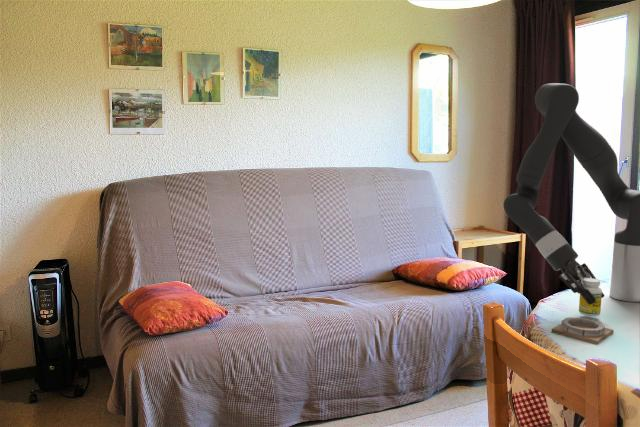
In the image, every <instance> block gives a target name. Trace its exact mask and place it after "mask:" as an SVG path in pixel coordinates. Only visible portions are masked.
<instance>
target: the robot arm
mask: <svg viewBox="0 0 640 427" xmlns="http://www.w3.org/2000/svg"><path fill="white" fill-rule="evenodd" d="M579 97H580V96H579V92H578V90H577V88H576V87H574V86H573V85H571V84H567V83H558V82H552V83H546V84H543V85H541V86H540V87H538V89H537V91H536V93H535V96H534V103H535V107H536V109H537V111H538V112H539V113H540V114H541V115H542V116H543V117H544V120H543V123H542V125H541V129H540V130H539V132H538V134H537V136H536V137H535V139H534V140H533V142H532V143H531V144H530V146H528V148H527V150H526V151H525V153H524V156H523V158H522V160H521V163H520V166H519V168H518V171H517V174H516V177H515V178H516V179H515V181H516V183H517V187H516V190H515V193H512V194H509V195H508V196H507V197H506V198H505V199H504V201H503V204H502V205H503V206H502V207H503V210H504V212H505V214H506V215H507V217H508V218H509V219H510V220H511V221H512V222H513V223H514V224H515V225H517V226H518V228H520V229H521V230H522V231H523V232H525V234H526V235H527V236H528V238H529V239H530V240H531V242H532V243H533V244H534V245H535V247H536V248H537V249H538V252H539V253H540V254H541V255H542V256H543V258H544V259H545V260H546V261H547V263H548V264H549V265H550V266H551V268H552V269H553V271H560V270H561V274H559V276H558V277H559V279H560V280H561V281H562V283H564V284H565V285H566V286H567V287H568V288H569V289H570V290H571V291H572V293H574V294H576V293H577V294H578V295H580V294H581V295H582V297H583V298H584V299H585V300H586V301H587V303H588V304H589V305H591V304H593V303H594V302H596V298H595V297H594V296H593V295H592V294H591V292H590V291H589V290H588V289H587V288H586V286H585V284H584V279H585V278H593V279H597V278H596V276H595V275H594V274H593V272H592V270H591V269H590V268H589V266H588V265H587V264H586V263H585V262H584V263H583V264H580V263H579V262H578V261H576V259H578V258H579V255H578V252H576V250H574V248H573V247H572V246H571V245H570V243H568V241H567V240H566V238H565V237H564V236H563V235H562V234H561V233H559V231H558V230H557V229H556V228H555V227H554V226H553V224H552V223H551V222H550V221H549V220H548V219H547V218H546V217H544V216H542V215H540V214H539V213H538V212H537V211H536V210H535V208H536V206H537V203H538V201H539V200H538V199H539V194H540V188H541V183H542V182H543V178H544V176H545V174H546V170H547V168H548V165H549V162H550V160H551V158H552V155H553V153H554V151H555V149H556V147H557V145H558V143H559V142H560V141H559V140H560V139H561V138H562V140H563V141H564V142H565V144H566V146H567V147H568V148H569V150H570V151H571V152H572V154H573V156H574V157H575V159H576V160H577V162H578V163H579V164H580V166H582V169H584V170H585V172H586V173H587V174H588V176H590V178H591V180H592V181H593V183H594V184H595V185H596V187H597V188H598V189H599V190H600V192H601V194H602V196H603V197H604V199H605V201H606V202H607V204H608V206H609V208H610V210H611V211H612V212H613V213H614V216H616V217H618V218H620V219H623V220H626V221H627V224H626V226H625V229H623V230H619V231H617V232H615V234H614V242H613V243H614V244H613V254H612V265H611V275H610V276H611V277H610V288H609V296H610V297H611V298H612V299H615V300H619V301H624V302H630V303H632V302H633V303H636V302H637V303H639V302H640V190H637V189H631V188H630V187H628V186H627V184H626V183H625V182H624V180H623V179H622V178H621V177H620V174H619V172H618V170H619V169H618V166H619V165H618V164H619V163H618V157H617V154H616V152H615V151H614V149H613V147H612V146H611V144H610V143H609V142H608V140H606V138H605V137H604V136H603V134H601V133H600V132H599V131H598V130H597V129H596V128H594V127H593V126H592V125H591V124H589V123H588V122H587V121H585V119H583V118H582V117H581V116H580V114H578V113H577V110H576V109H577V107H578V104H579V102H580V98H579ZM586 289H587V290H586ZM604 297H605V294H604V292H603V291H602V298H601V299H604Z"/></svg>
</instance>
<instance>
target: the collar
mask: <svg viewBox="0 0 640 427" xmlns="http://www.w3.org/2000/svg"><path fill="white" fill-rule="evenodd" d="M551 333H554V334H556V335H557V334H558V335H561V336H565V337H569V338H573V339H576V340H580V341H584V342H587V343H592V344H595V345H598V344H599V343H601V342H602V341H604V340H605V339H606V338H608V337H609V336H611V335H612V334H614V329H611V328H608V327H606V326H605V325H604V324H603V323H601V322H600V321H597V320H593V319H590V318H585V317H569V316H568V317H565V318H564V319H562V320H561V322H560V324H558V325H556V326H555V327H553V328H551Z"/></svg>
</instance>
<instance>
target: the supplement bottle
mask: <svg viewBox="0 0 640 427" xmlns="http://www.w3.org/2000/svg"><path fill="white" fill-rule="evenodd" d="M584 284H585V286H586V288H587V289H588V290H589V291H590V292H591V294H592V295H593V296H594V297H595V298H596V302H594V303H593V304H591V305H589V304H588V303H587V301H586V300H585V299H584V298H583V297H582V295H581V294H579V303H578V304H579V305H578V313H579V314H580V315H583V316H585V317H590V318H593V317H599V316H600V315H601V310H602V309H601V308H602V307H601V306H602V299H603V298H602V292H603V289H602V288H601V287H600V285H601V281H600V279H597V278H596V279H593V278H585V279H584ZM587 289H586V290H587Z"/></svg>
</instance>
